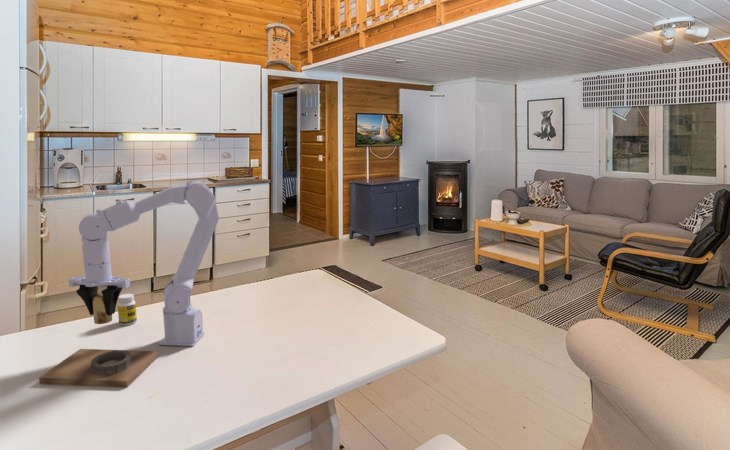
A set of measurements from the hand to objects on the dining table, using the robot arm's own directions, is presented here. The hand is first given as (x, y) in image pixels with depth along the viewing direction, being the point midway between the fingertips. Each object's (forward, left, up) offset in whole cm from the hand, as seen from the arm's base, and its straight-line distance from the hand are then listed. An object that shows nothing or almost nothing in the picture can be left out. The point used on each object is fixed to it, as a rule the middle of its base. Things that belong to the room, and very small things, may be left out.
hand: (102, 313), depth 113 cm
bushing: (0, 0, -2) cm, 2 cm away
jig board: (-4, +9, -10) cm, 14 cm away
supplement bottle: (+5, -18, -11) cm, 21 cm away
